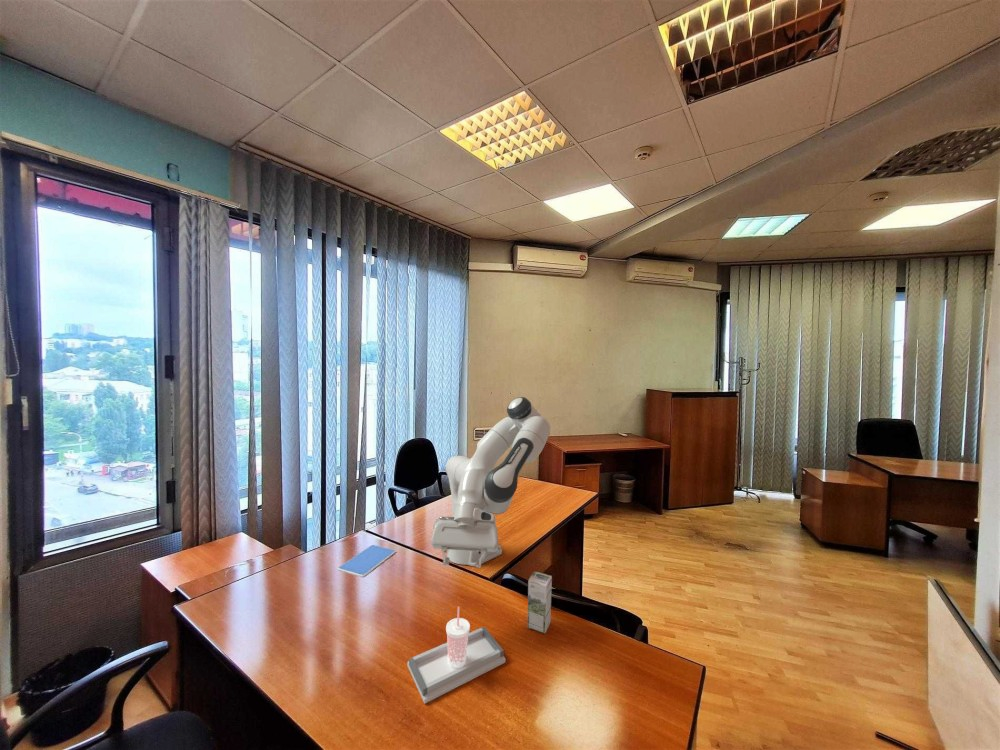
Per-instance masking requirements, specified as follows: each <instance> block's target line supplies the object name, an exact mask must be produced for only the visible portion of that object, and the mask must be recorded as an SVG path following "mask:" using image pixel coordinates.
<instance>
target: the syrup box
mask: <svg viewBox="0 0 1000 750" xmlns="http://www.w3.org/2000/svg"><path fill="white" fill-rule="evenodd" d="M552 577H553V576H552V575H549V574H546V573H542V572H539V571H533V572H532V574H531V575H530V577H529V579H528V582H527V584H528V587H527V594H528V595H527V618H526V619H527V622H526V628H528V629H530V630H533V631H535V632H537V633H542V634H546V633H547V631H548V628H549V627H550V624H551V619H552V617H551V615H552V614H551V612H552V610H551V609H552V587H553V586H552V583H553V582H552V581H553V578H552Z"/></svg>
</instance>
